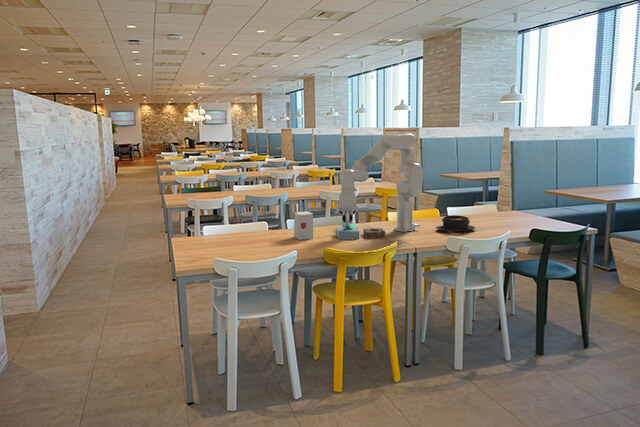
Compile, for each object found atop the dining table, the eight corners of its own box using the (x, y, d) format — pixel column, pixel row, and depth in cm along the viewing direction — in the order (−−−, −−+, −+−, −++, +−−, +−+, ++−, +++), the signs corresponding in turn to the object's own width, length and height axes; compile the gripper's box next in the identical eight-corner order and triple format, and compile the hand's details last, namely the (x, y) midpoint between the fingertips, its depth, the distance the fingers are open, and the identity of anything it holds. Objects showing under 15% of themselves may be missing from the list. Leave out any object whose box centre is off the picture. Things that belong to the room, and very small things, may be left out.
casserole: (464, 226, 315) (465, 213, 314) (481, 232, 298) (482, 219, 296) (429, 229, 308) (430, 215, 307) (445, 235, 291) (446, 221, 289)
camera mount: (358, 231, 302) (358, 215, 300) (345, 232, 301) (346, 216, 299) (353, 227, 313) (353, 212, 311) (341, 228, 312) (342, 212, 310)
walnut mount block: (381, 233, 295) (381, 228, 295) (385, 237, 285) (385, 232, 284) (363, 234, 294) (363, 228, 294) (366, 238, 284) (366, 232, 283)
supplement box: (298, 240, 280) (298, 214, 277) (293, 236, 288) (293, 212, 286) (313, 238, 283) (313, 213, 281) (308, 235, 292) (308, 211, 289)
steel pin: (349, 228, 289) (349, 210, 287) (350, 229, 286) (350, 211, 284) (344, 228, 289) (344, 210, 287) (344, 229, 285) (345, 211, 283)
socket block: (356, 234, 295) (356, 226, 294) (359, 238, 283) (359, 231, 282) (336, 234, 294) (336, 227, 293) (338, 239, 282) (338, 231, 281)
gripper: (360, 189, 287) (360, 220, 291) (333, 190, 286) (332, 220, 289) (362, 191, 280) (362, 222, 283) (334, 191, 279) (334, 223, 282)
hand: (347, 221), depth 286 cm, fingers closed on steel pin, 3 cm apart
